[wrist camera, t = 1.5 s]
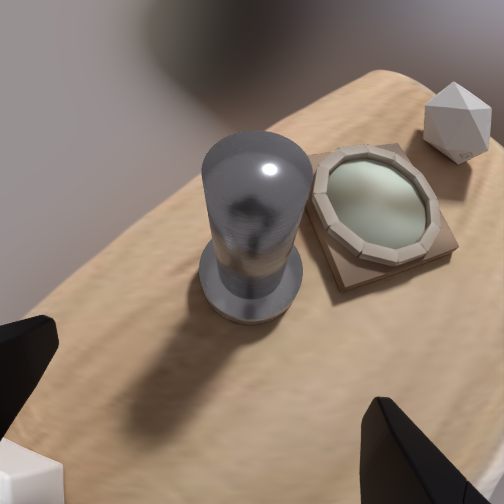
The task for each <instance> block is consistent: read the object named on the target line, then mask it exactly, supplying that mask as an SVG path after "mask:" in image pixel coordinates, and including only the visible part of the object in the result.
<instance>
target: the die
mask: <svg viewBox="0 0 504 504" xmlns="http://www.w3.org/2000/svg"><path fill="white" fill-rule="evenodd" d="M491 111H492V108H490V107H489V106H488V105H486V104H485V103H484V102H483V101H481V100H480V99H479V98H477V97H476V96H474V95H473V94H472V93H470V92H469V91H467V90H466V89H464V88H463V87H461V86H460V85H458V84H457V83H455V82H452V83H451V84H450V85H449V86H447V87H446V88H445V89H444V90H442V91H441V92H440V93H438V94H437V95H436V96H435V97H433V98H432V99H431V100H429V101H428V102H427V104H426V105H425V117H424V133H423V140H424V141H426V142H427V143H429V144H430V145H432V146H433V147H435V148H436V149H437V150H439V151H440V152H442V153H443V154H444V155H446V156H447V157H449V158H450V159H451V160H453V161H454V162H455V163H457V164H458V165H459V164H461V163H463V162H465V161H467V160H470V159H472V158H474V157H476V156H478V155H480V154H482V153H484V152H486V151H488V148H489V138H490V127H491Z"/></svg>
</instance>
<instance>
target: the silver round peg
mask: <svg viewBox="0 0 504 504" xmlns="http://www.w3.org/2000/svg"><path fill="white" fill-rule="evenodd" d="M202 180H203V186H204V192H205V199H206V205H207V211H208V217H209V222H210V228H211V234H212V239H211V240H210V242H209V243H208V244H207V246H206V247H205V249H204V251H203V253H202V256H201V259H200V264H199V277H200V282H201V285H202V288H203V291H204V294H205V296H206V298H207V300H208V302H209V304H210V305H211V306H212V308H213V309H214V310H215V311H216V312H217V313H218V314H220V315H221V316H222V317H224V318H226V319H228V320H230V321H232V322H235V323H238V324H243V325H258V324H263V323H267V322H269V321H272V320H274V319H276V318H277V317H279V316H280V315H282V314H283V313H284V312H285V311H286V310H287V309H288V308H289V306H290V305H291V304H292V302H293V300H294V298H295V296H296V294H297V293H298V290H299V288H300V285H301V282H302V275H303V267H302V261H301V258H300V255H299V253H298V250H297V249H296V247H295V245H294V240H295V237H296V234H297V231H298V228H299V224H300V221H301V218H302V215H303V211H304V208H305V205H306V202H307V198H308V195H309V192H310V188H311V185H312V181H313V169H312V165H311V162H310V160H309V158H308V156H307V155H306V153H305V152H304V151H303V150H302V149H301V148H300V147H299V146H298V145H297V144H296V143H294V142H293V141H291V140H290V139H288V138H286V137H284V136H281V135H279V134H276V133H272V132H266V131H244V132H239V133H235V134H233V135H230V136H228V137H226V138H224V139H222V140H220V141H219V142H218V143H216V144H215V145H214V146H213V147H212V148H211V149H210V150H209V152H208V153H207V155H206V156H205V158H204V161H203V164H202Z"/></svg>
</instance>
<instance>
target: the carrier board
mask: <svg viewBox="0 0 504 504" xmlns="http://www.w3.org/2000/svg"><path fill="white" fill-rule="evenodd" d="M308 158H309V160H310V162H311V165H312V169H313V181H312V185H311V188H310V192H309V195H308V198H307V202H306V205H305V209H306V211H307V213H308V215H309V218H310V220H311V222H312V225H313V227H314V229H315V232H316V234H317V236H318V239H319V241H320V243H321V246H322V248H323V251H324V253H325V255H326V258H327V260H328V263H329V265H330V268H331V270H332V272H333V275H334V277H335V280H336V282H337V285H338V288H339V290H340V293H341V292H344V291H347V290H350V289H353V288H356V287H359V286H362V285H365V284H368V283H371V282H374V281H377V280H380V279H382V278H385V277H388V276H391V275H394V274H397V273H399V272H402V271H405V270H408V269H410V268H413V267H416V266H418V265H421V264H424V263H426V262H429V261H432V260H434V259H437V258H440V257H442V256H445V255H447V254H450V253H452V252H453V251H455V250H456V249H457V248H458V247H459V245H458V243H457V241H456V239H455V237H454V235H453V233H452V232H451V230H450V228H449V226H448V224H447V222H446V220H445V218H444V217H443V215H442V213H441V211H440V209H439V202H438V200H437V199H438V198H437V197H436V195H435V193H434V192H433V190H432V188H431V187H430V185H429V183H428V182H427V180H426V179H425V177H424V175H423V174H420V173H421V172H420V171H419V170H418V169H416V168H415V167H414V166H413V165H412V163H411V162H410V160H409V159H408V157H407V156H406V154H405V153H404V152H403V150H402V149H401V147H400V146H399V144H398V143H396V144H386V145H378V146H371V145H368V144H367V145H366V144H362V145H354V146H346V147H339V148H337V149H336V150H334V151H333V152H326V153H320V154H314V155H308Z"/></svg>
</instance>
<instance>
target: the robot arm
mask: <svg viewBox="0 0 504 504" xmlns="http://www.w3.org/2000/svg"><path fill="white" fill-rule="evenodd" d="M58 346H59V339H58V334H57V328H56V323H55V321H54V319H53V318H50V317H48V316H46V315H39V316H35V317H31V318H28V319H24V320H20V321H16V322H12V323H9V324H5V325H1V326H0V442H1V440H2V438H3V437H4V435H5V433H6V432H7V430H8V429H9V427H10V425H11V424H12V422H13V421H14V419H15V418H16V416H17V415H18V413H19V412H20V410H21V408H22V407H23V405H24V404H25V402H26V401H27V399H28V398H29V397H30V395H31V394H32V392H33V391H34V389H35V388H36V386H37V384H38V383H39V381H40V379H41V377H42V375H43V374H44V372H45V370H46V368H47V366H48V365H49V363H50V361H51V359H52V358H53V356H54V354H55V352H56V351H57V349H58ZM360 492H361V504H491V503H490V502H489V501H488V500H487V499H486V498H485V497H484V496H483V495H482V494H481V493H480V492H479V491H478V490H477V489H476V488H475V487H474V486H473V485H472V484H471V483H470V482H469V481H467V479H466V478H465V477H464V476H463V475H462V474H461V472H460V471H459V470H458V469H457V468H456V467H455V466H454V465H453V464H452V463H451V462H450V461H449V460H448V459H447V458H446V457H445V455H444V454H443V453H442V452H441V451H440V450H439V449H438V448H437V447H436V446H435V445H434V444H433V443H432V442H431V441H430V440H429V438H428V437H427V436H426V435H425V434H424V433H423V432H422V431H421V430H420V429H419V428H418V427H417V426H416V425H415V424H414V423H413V422H412V420H411V419H410V418H409V417H408V416H407V415H406V414H405V413H404V412H403V411H402V410H401V409H400V408H399V407H398V406H397V405H396V403H395V402H394V401H393V400H392V399H391V398H388V397H375V398H374V399H373V400H372V402H371V404H370V406H369V407H368V409H367V411H366V413H365V414H364V416H363V419H362V423H361V449H360Z"/></svg>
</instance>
